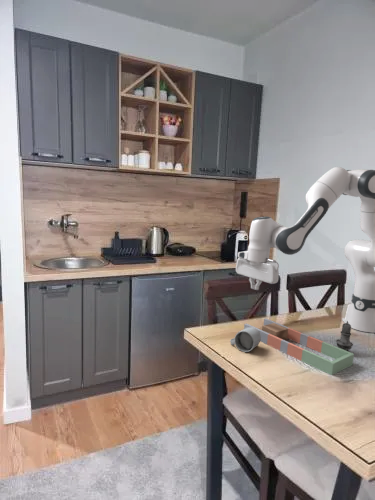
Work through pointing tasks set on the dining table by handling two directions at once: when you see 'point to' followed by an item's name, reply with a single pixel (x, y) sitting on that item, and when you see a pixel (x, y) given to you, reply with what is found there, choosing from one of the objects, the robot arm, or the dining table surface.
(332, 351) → the frame
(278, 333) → the walnut block
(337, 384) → the dining table surface
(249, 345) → the ceramic mug
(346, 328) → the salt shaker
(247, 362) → the dining table surface
